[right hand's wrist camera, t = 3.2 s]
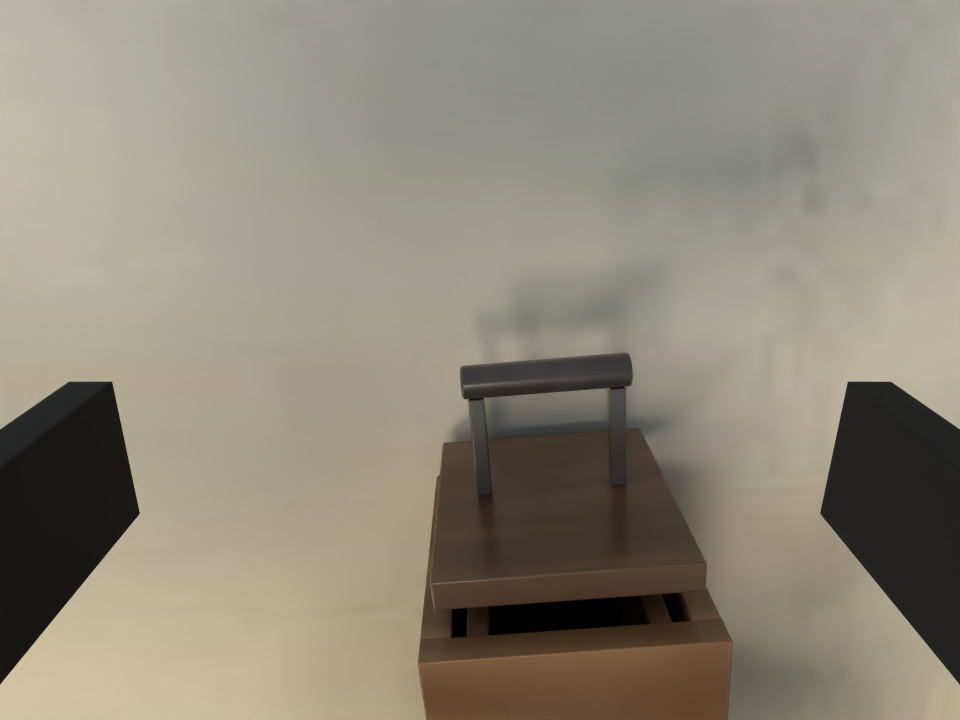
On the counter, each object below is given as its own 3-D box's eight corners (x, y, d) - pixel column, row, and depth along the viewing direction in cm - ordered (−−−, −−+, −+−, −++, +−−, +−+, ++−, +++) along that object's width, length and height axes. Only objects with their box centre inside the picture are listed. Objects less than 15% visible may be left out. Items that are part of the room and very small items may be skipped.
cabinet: (436, 476, 34) (417, 663, 23) (647, 459, 34) (733, 641, 23) (467, 726, 40) (463, 972, 29) (646, 714, 40) (713, 957, 29)
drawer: (429, 331, 30) (409, 435, 21) (640, 313, 30) (714, 411, 21) (471, 691, 38) (470, 885, 28) (639, 679, 38) (694, 872, 28)
